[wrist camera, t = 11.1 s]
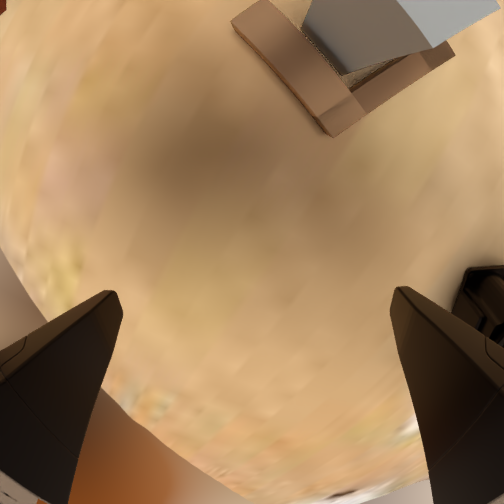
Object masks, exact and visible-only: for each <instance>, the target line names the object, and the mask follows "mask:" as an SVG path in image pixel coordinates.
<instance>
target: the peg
mask: <svg viewBox="0 0 504 504" xmlns="http://www.w3.org/2000/svg"><path fill="white" fill-rule="evenodd" d="M500 8H501V7H500V6H499V4H498V3H497V1H496V0H312V3H311V5H310V8H309V10H308V12H307V15H306V17H305V20H304V22H303V25H302V27H301V30H302V32H303V33H304V34H305V35H306V36H307V37H308V38H309V39H310V40H311V41H312V42H313V43H314V44H315V45H316V46H317V48H318V49H319V50H320V51H321V52H322V53H323V54H324V55H325V57H326V58H327V59H328V60H329V61H330V62H331V63H332V65H333V66H334V67H335V68H336V69H337V71H338V72H339V73H340V74H341V75H345V74H347V73H350V72H353V71H356V70H359V69H362V68H365V67H368V66H371V65H374V64H377V63H381V62H384V61H387V60H391V59H394V58H398V57H401V56H405V55H408V54H412V53H416V52H420V51H424V50H428V49H432V48H434V47H436V46H438V45H439V44H441V43H442V42H444V41H446V40H447V39H449V38H450V37H452V36H454V35H455V34H457V33H459V32H460V31H462V30H464V29H465V28H467V27H469V26H470V25H472V24H474V23H475V22H477V21H479V20H481V19H482V18H484V17H486V16H488V15H489V14H491V13H493V12H495V11H497V10H498V9H500Z"/></svg>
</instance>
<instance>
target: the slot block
mask: <svg viewBox="0 0 504 504" xmlns="http://www.w3.org/2000/svg"><path fill="white" fill-rule="evenodd" d="M230 22H231V24H232V26H233V28H234V30H235V31H236V32H237V33H238V34H239V35H240V36H241V37H242V38H243V39H244V40H245V41H246V42H247V43H248V44H249V45H250V46H251V47H252V48H253V49H254V50H255V51H256V52H257V53H258V54H259V55H260V57H261V58H262V59H263V60H264V61H265V62H266V63H267V64H268V65H269V66H270V67H271V68H272V69H273V71H274V72H275V73H276V74H277V75H278V76H279V77H280V78H281V80H282V81H283V82H284V83H285V84H286V85H287V86H288V88H289V89H290V90H291V91H292V92H293V93H294V95H295V96H296V97H297V98H298V99H299V101H300V102H301V103H302V104H303V105H304V107H305V108H306V109H307V110H308V112H309V113H310V114H311V115H312V117H313V118H314V119H315V120H316V122H317V123H318V124H319V125H320V127H321V128H322V129H323V131H324V132H325V133H326V134H327V135H329V136H331V137H332V138H334V137H336V136H337V135H338V134H340V133H341V132H343V131H344V130H345V129H347V128H348V127H350V126H351V125H352V124H354V123H355V122H357V121H358V120H360V119H361V118H362V117H364V116H365V115H367V114H368V113H370V112H371V111H372V110H374V109H375V108H377V107H378V106H380V105H381V104H383V103H384V102H385V101H387V100H388V99H390V98H391V97H393V96H394V95H396V94H397V93H399V92H400V91H402V90H403V89H405V88H406V87H408V86H409V85H411V84H412V83H414V82H415V81H417V80H418V79H420V78H421V77H423V76H424V75H426V74H427V73H429V72H430V71H432V70H433V69H435V68H437V67H438V66H440V65H441V64H443V63H444V62H446V61H448V60H449V59H451V58H452V57H454V56H455V53H454V52H453V50H452V49H451V47H450V45H449V44H448V42H447V41H444V42H442V43H441V44H439V45H438V46H436V47H434V48H432V49H428V50H424V51H420V52H416V53H412V54H408V55H405V56H401V57H398V58H396V59H394V60H392V61H391V62H389V63H388V64H386V65H385V66H383V67H381V68H380V69H378V70H377V71H375V72H374V73H372V74H371V75H369V76H368V77H366V78H365V79H363V80H362V81H360V82H359V83H357V84H356V85H354V86H353V87H351V88H350V89H348V88H347V87H346V85H345V84H344V83H343V81H342V80H341V79H340V78H339V76H338V75H337V74H336V73H335V71H334V70H333V69H332V68H331V66H330V65H329V64H328V63H327V62H326V60H325V59H324V58H323V57H322V56H321V55H320V53H319V52H318V51H317V50H316V49H315V48H314V47H313V45H312V44H311V43H310V42H309V41H308V40H307V39H306V38H305V37H304V35H303V34H302V33H301V32H300V31H299V30H298V29H297V28H296V27H295V26H294V25H293V24H292V23H291V22H290V21H289V20H288V19H287V18H286V17H285V16H284V15H283V14H282V13H281V12H280V11H279V10H278V9H277V8H276V7H275V6H274V5H273V4H272V3H271V2H270V1H269V0H259V1H258V2H256V3H255V4H253V5H252V6H250V7H249V8H247V9H246V10H245V11H243V12H242V13H240V14H239V15H238V16H236V17H235V18H234V19H232V20H231V21H230Z"/></svg>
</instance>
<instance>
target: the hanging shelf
mask: <svg viewBox="0 0 504 504" xmlns="http://www.w3.org/2000/svg"><path fill="white" fill-rule="evenodd" d="M5 10H6V0H0V15H1V14H2V13H3V12H4V11H5Z"/></svg>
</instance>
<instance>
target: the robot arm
mask: <svg viewBox="0 0 504 504" xmlns="http://www.w3.org/2000/svg"><path fill="white" fill-rule="evenodd" d="M390 317H391V321H392V326H393V330H394V335H395V340H396V345H397V350H398V354H399V358H400V361H401V364H402V368H403V371H404V374H405V378H406V381H407V384H408V388H409V391H410V395H411V399H412V402H413V406H414V410H415V414H416V418H417V422H418V426H419V430H420V434H421V438H422V443H423V447H424V452H425V457H426V462H427V467H428V470H429V471H428V473H429V478H430V484H431V490H432V496H433V503H434V504H504V266H495V267H480V268H469V269H468V270H467V271H466V273H465V276H464V279H463V283H462V286H461V289H460V292H459V295H458V298H457V301H456V303H455V306H454V309H453V312H452V314H451V313H450V312H448V311H447V310H445V309H443V308H442V307H440V306H439V305H437V304H436V303H434V302H432V301H431V300H429V299H428V298H426V297H425V296H423V295H421V294H420V293H418V292H416V291H415V290H413V289H412V288H410V287H408V286H400V287H396V288H395V290H394V294H393V298H392V302H391V306H390ZM122 318H123V310H122V307H121V304H120V301H119V298H118V295H117V293H116V292H115V291H113V290H104V291H102V292H100V293H98V294H96V295H95V296H93V297H91V298H89V299H88V300H86V301H84V302H82V303H81V304H79V305H77V306H75V307H74V308H72V309H70V310H69V311H67V312H65V313H63V314H62V315H60V316H58V317H57V318H55V319H53V320H52V321H50V322H48V323H47V324H45V325H43V326H41V327H40V328H38V329H36V330H35V331H33V332H31V333H30V334H28V336H25V337H23V338H22V339H20V340H18V341H17V342H15V343H13V344H12V345H10V346H8V347H7V348H5V349H3V350H1V351H0V504H36V502H37V499H40V500H42V501H44V502H46V503H48V504H68V500H69V495H70V491H71V487H72V482H73V478H74V475H75V471H76V467H77V463H78V458H79V454H80V451H81V448H82V444H83V441H84V437H85V434H86V431H87V427H88V424H89V421H90V418H91V414H92V411H93V408H94V405H95V402H96V399H97V396H98V393H99V390H100V387H101V385H102V382H103V379H104V376H105V373H106V371H107V368H108V365H109V362H110V360H111V357H112V354H113V351H114V347H115V343H116V340H117V336H118V332H119V329H120V325H121V321H122Z"/></svg>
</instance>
